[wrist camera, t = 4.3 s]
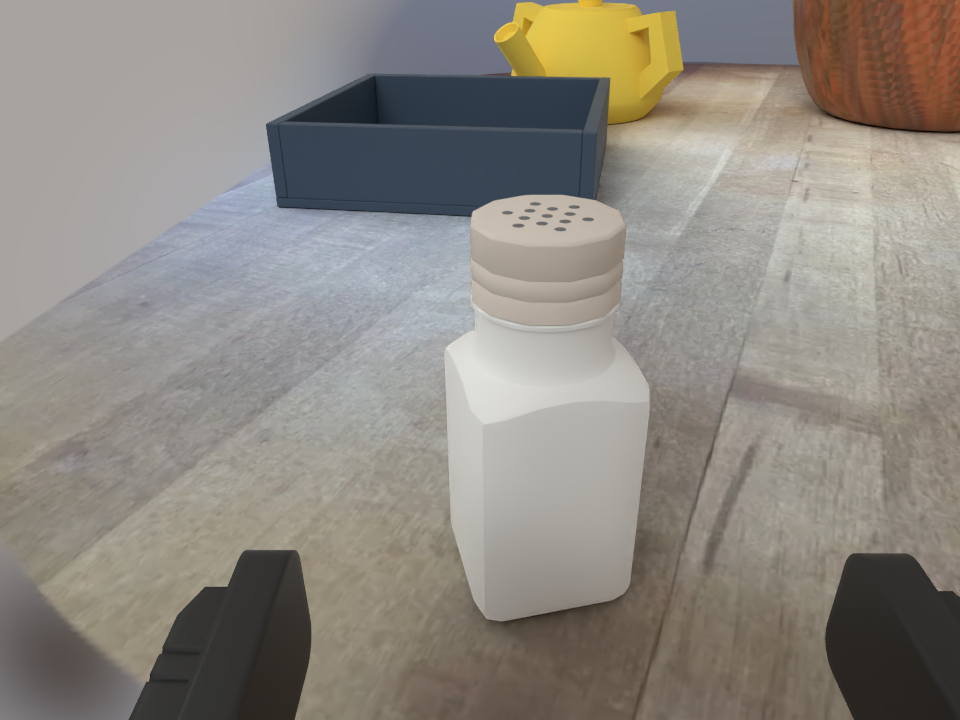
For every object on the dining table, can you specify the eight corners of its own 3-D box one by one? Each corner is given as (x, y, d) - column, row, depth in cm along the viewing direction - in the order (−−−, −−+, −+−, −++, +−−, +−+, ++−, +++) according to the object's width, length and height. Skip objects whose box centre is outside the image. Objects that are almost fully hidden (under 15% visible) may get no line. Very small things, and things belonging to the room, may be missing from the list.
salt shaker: (447, 526, 21) (433, 195, 17) (582, 504, 22) (603, 182, 18) (479, 637, 18) (472, 260, 13) (637, 606, 19) (682, 240, 14)
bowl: (715, 101, 76) (732, -26, 71) (907, 84, 84) (936, -33, 78) (920, 159, 56) (967, -15, 50) (1150, 130, 63) (1213, -25, 58)
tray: (277, 206, 48) (265, 123, 45) (373, 136, 64) (368, 73, 62) (591, 222, 44) (597, 132, 42) (606, 144, 61) (610, 77, 59)
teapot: (427, 114, 73) (421, -14, 67) (557, 90, 83) (561, -23, 78) (588, 149, 60) (597, -6, 54) (717, 115, 70) (735, -17, 65)
